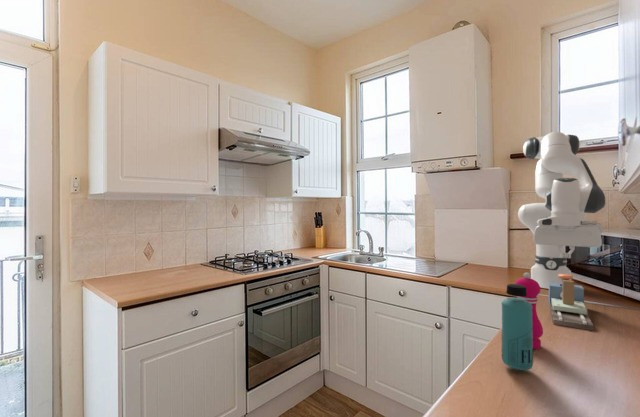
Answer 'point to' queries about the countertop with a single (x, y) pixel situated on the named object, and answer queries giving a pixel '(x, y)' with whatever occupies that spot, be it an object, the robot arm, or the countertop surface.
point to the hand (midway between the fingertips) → (565, 257)
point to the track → (571, 319)
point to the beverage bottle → (517, 329)
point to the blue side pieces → (557, 292)
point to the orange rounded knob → (565, 277)
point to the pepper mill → (532, 298)
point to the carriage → (568, 300)
